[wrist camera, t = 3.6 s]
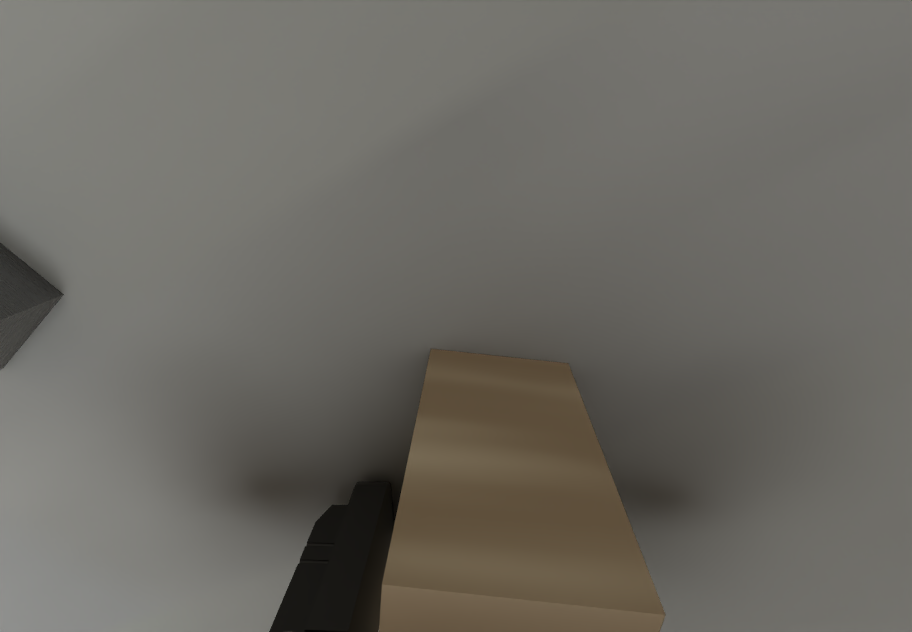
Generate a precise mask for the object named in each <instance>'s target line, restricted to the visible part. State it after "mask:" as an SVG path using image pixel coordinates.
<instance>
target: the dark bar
mask: <svg viewBox="0 0 912 632" xmlns="http://www.w3.org/2000/svg"><path fill="white" fill-rule="evenodd" d="M63 295H64V294H62V293H61V292H60V291H59V290H57V289H56V288H55V287H54V286H53V285H51V284H50V283H49V282H48V281H46V280H45V279H44V278H43V277H41V276H40V275H39V274H38V273H37V272H35V271H34V270H33V269H32V268H30V267H29V266H28V265H27V264H26V263H24V262H23V261H22V260H21V259H19V258H18V257H17V256H16V255H15V254H13V253H12V252H11V251H10V250H8V249H7V248H6V247H5V246H4V245H2V244H1V243H0V369H2V368H4V366H5V365H6V364H7V363H8V362H9V360H10V359H11V358H12V357H13V355H14V354H15V353H16V352H17V351H18V349H19V348H20V347H21V346H22V345H23V343H24V342H25V341H26V340H27V339H28V337H29V336H30V335H31V334H32V332H33V331H34V330H35V329H36V328H37V326H38V325H39V324H40V323H41V322H42V320H43V319H44V318H45V317H46V315H47V314H48V313H49V312H50V311H51V309H52V308H53V307H54V306H55V305H56V303H57V302H58V301H59V300H60V299H61V297H62V296H63Z"/></svg>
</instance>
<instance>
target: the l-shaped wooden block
mask: <svg viewBox="0 0 912 632" xmlns="http://www.w3.org/2000/svg"><path fill="white" fill-rule="evenodd" d="M664 618H665V612H664V610H663V607H662V605H661V602H660V600H659V597H658V594H657V592H656V589H655V587H654V584H653V581H652V579H651V576H650V574H649V571H648V569H647V566H646V563H645V561H644V558H643V556H642V553H641V550H640V548H639V545H638V543H637V540H636V537H635V535H634V532H633V530H632V527H631V525H630V522H629V519H628V517H627V514H626V512H625V509H624V506H623V504H622V501H621V499H620V496H619V494H618V491H617V488H616V486H615V483H614V481H613V478H612V475H611V473H610V470H609V468H608V465H607V462H606V460H605V457H604V455H603V452H602V450H601V447H600V444H599V442H598V439H597V437H596V434H595V431H594V429H593V426H592V424H591V421H590V418H589V416H588V413H587V411H586V408H585V406H584V403H583V400H582V398H581V395H580V393H579V390H578V387H577V385H576V382H575V380H574V377H573V375H572V372H571V369H570V367H569V364H568V363H560V362H550V361H541V360H531V359H522V358H513V357H503V356H494V355H485V354H475V353H466V352H457V351H447V350H438V349H431V351H430V356H429V360H428V365H427V370H426V375H425V380H424V384H423V389H422V394H421V399H420V404H419V408H418V413H417V418H416V423H415V428H414V432H413V437H412V442H411V447H410V452H409V457H408V461H407V466H406V471H405V476H404V481H403V485H402V490H401V495H400V500H399V505H398V509H397V514H396V519H395V524H394V529H393V533H392V538H391V543H390V548H389V553H388V557H387V562H386V567H385V572H384V577H383V582H382V591H381V608H380V624H379V632H660V629H661V626H662V623H663V621H664Z"/></svg>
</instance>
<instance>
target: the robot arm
mask: <svg viewBox="0 0 912 632" xmlns="http://www.w3.org/2000/svg"><path fill="white" fill-rule="evenodd" d="M393 529H394V523H393V509H392V494H391V485H390V483H383V482H357V483H356V485H355V488H354V491H353V493H352V496H351V499H350V502H349V505H332V506H331V507H330V508H329V509H328V510H327V511H326V512H325V513H324V514H323V515H322V516H321V517H320V518H319V519H318V520H317V521H316V522H315V525H314V527H313V530H312V532H311V534H310V537H309V539H308V541H307V546H305V549H304V551H303V553H302V556H301V558H300V563H299V564H298V565H297V567H296V570H295V572H294V575H293V577H292V579H291V582H290V584H289V586H288V589H287V591H286V594H285V596H284V598H283V601H282V603H281V605H280V608H279V610H278V613H277V615H276V617H275V620H274V622H273V624H272V627H271V629H270V631H269V632H378V630H379V624H380V608H381V591H382V582H383V577H384V572H385V567H386V562H387V557H388V553H389V548H390V543H391V538H392V533H393Z"/></svg>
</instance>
